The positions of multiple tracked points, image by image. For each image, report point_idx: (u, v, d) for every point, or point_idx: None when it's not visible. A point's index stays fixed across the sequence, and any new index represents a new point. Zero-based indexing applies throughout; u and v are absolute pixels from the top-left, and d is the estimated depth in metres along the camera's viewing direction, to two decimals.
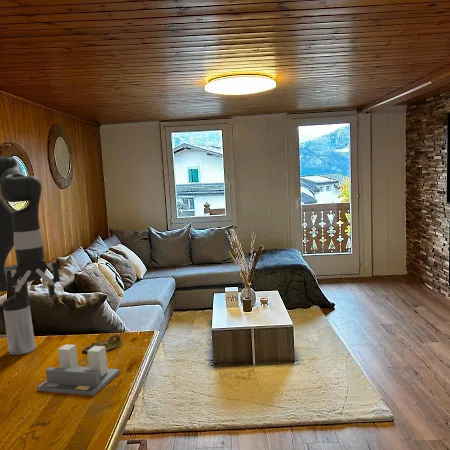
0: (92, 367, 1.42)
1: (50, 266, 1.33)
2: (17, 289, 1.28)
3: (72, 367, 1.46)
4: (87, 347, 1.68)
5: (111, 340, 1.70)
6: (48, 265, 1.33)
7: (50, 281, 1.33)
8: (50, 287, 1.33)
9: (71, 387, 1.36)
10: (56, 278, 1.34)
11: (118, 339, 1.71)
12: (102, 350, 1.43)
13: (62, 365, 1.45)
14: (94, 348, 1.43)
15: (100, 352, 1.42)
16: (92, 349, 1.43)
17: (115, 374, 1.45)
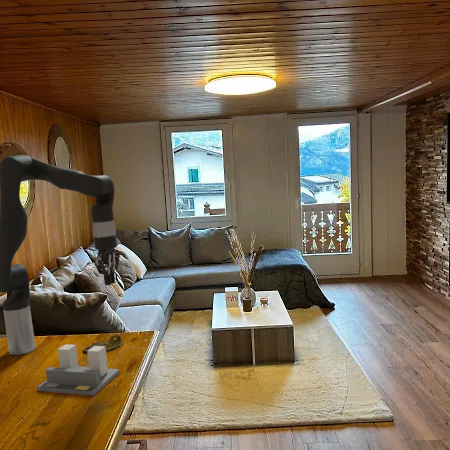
0: (92, 367, 1.42)
1: (115, 254, 1.59)
2: (109, 272, 1.53)
3: (72, 367, 1.46)
4: (87, 347, 1.68)
5: (111, 340, 1.70)
6: (114, 253, 1.58)
7: (113, 268, 1.56)
8: (113, 274, 1.56)
9: (71, 387, 1.36)
10: (116, 266, 1.57)
11: (118, 339, 1.71)
12: (102, 350, 1.43)
13: (62, 365, 1.45)
14: (94, 348, 1.43)
15: (100, 352, 1.42)
16: (92, 349, 1.43)
17: (115, 374, 1.45)
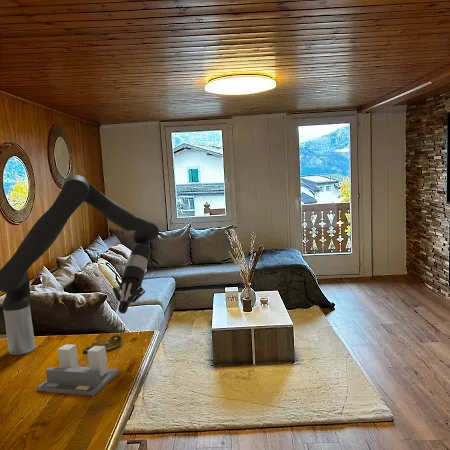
0: (92, 367, 1.42)
1: None
2: None
3: (72, 367, 1.46)
4: (88, 347, 1.68)
5: (112, 340, 1.70)
6: None
7: None
8: None
9: (71, 387, 1.36)
10: None
11: (119, 339, 1.71)
12: (102, 350, 1.43)
13: (62, 365, 1.45)
14: (94, 348, 1.43)
15: (100, 352, 1.42)
16: (92, 349, 1.43)
17: (115, 374, 1.45)
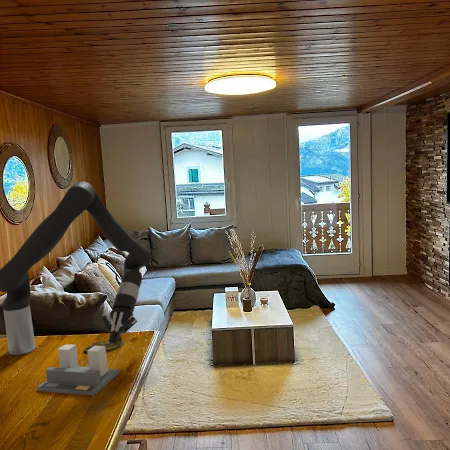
0: (92, 367, 1.42)
1: None
2: None
3: (72, 367, 1.46)
4: (88, 347, 1.68)
5: None
6: None
7: None
8: None
9: (71, 387, 1.36)
10: None
11: (119, 339, 1.71)
12: (102, 350, 1.43)
13: (62, 365, 1.45)
14: (94, 348, 1.43)
15: (100, 352, 1.42)
16: (92, 349, 1.43)
17: (115, 374, 1.45)
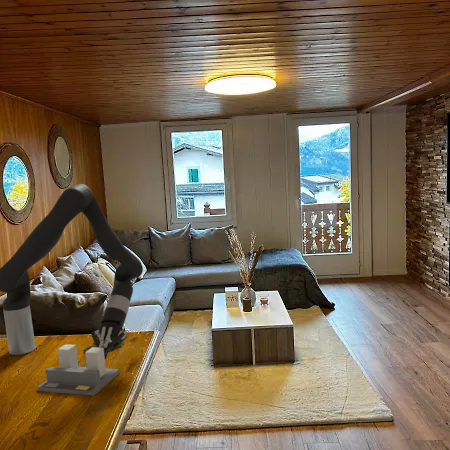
0: (90, 368, 1.41)
1: None
2: None
3: (72, 367, 1.46)
4: (89, 347, 1.68)
5: None
6: None
7: None
8: None
9: (71, 387, 1.36)
10: None
11: None
12: (100, 351, 1.42)
13: (62, 365, 1.45)
14: (92, 349, 1.42)
15: (98, 353, 1.40)
16: (90, 350, 1.41)
17: (115, 374, 1.45)
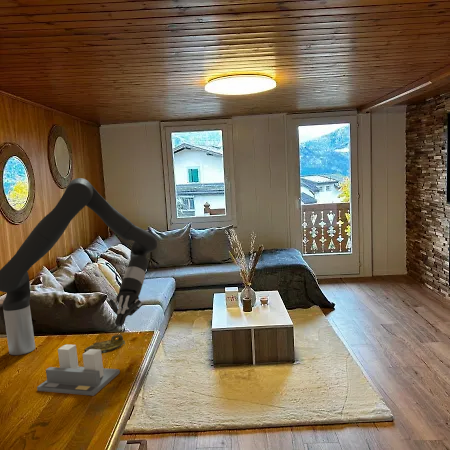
0: None
1: None
2: None
3: (72, 367, 1.46)
4: (89, 347, 1.68)
5: (113, 340, 1.70)
6: None
7: None
8: None
9: (71, 387, 1.36)
10: None
11: (120, 339, 1.72)
12: (98, 353, 1.40)
13: (62, 365, 1.45)
14: (89, 351, 1.41)
15: (95, 355, 1.39)
16: (87, 352, 1.40)
17: (115, 374, 1.45)
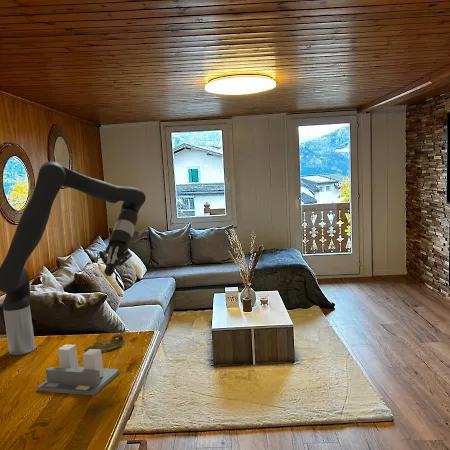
0: None
1: None
2: None
3: (72, 367, 1.46)
4: (90, 347, 1.68)
5: (114, 340, 1.70)
6: None
7: None
8: None
9: (71, 387, 1.36)
10: None
11: (121, 339, 1.72)
12: (98, 353, 1.40)
13: (62, 365, 1.45)
14: (89, 351, 1.41)
15: (95, 355, 1.39)
16: (87, 352, 1.40)
17: (115, 374, 1.45)
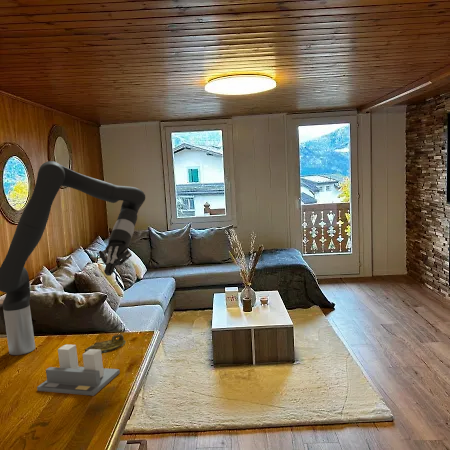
0: None
1: None
2: None
3: (72, 367, 1.46)
4: (90, 347, 1.68)
5: (114, 340, 1.70)
6: None
7: None
8: None
9: (71, 387, 1.36)
10: None
11: (121, 339, 1.72)
12: (98, 353, 1.40)
13: (62, 365, 1.45)
14: (89, 351, 1.41)
15: (95, 355, 1.39)
16: (87, 352, 1.40)
17: (115, 374, 1.45)
